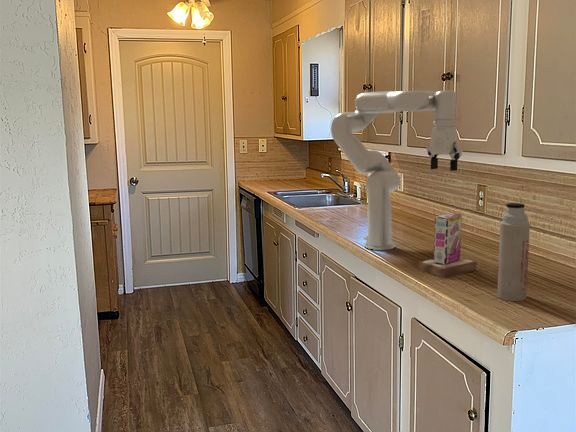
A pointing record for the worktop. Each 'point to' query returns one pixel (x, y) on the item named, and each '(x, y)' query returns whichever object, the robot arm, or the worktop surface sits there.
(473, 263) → the base
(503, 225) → the thermos bottle
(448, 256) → the candy bar box
